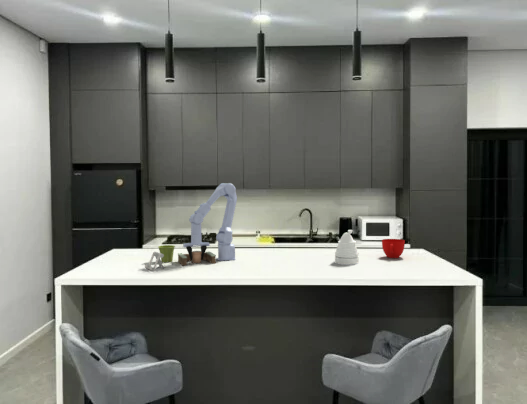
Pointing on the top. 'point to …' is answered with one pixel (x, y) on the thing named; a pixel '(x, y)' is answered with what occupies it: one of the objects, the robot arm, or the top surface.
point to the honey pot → (346, 250)
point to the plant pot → (167, 252)
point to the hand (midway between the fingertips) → (196, 259)
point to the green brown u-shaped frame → (207, 256)
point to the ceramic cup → (393, 247)
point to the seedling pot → (196, 256)
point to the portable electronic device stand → (158, 256)
